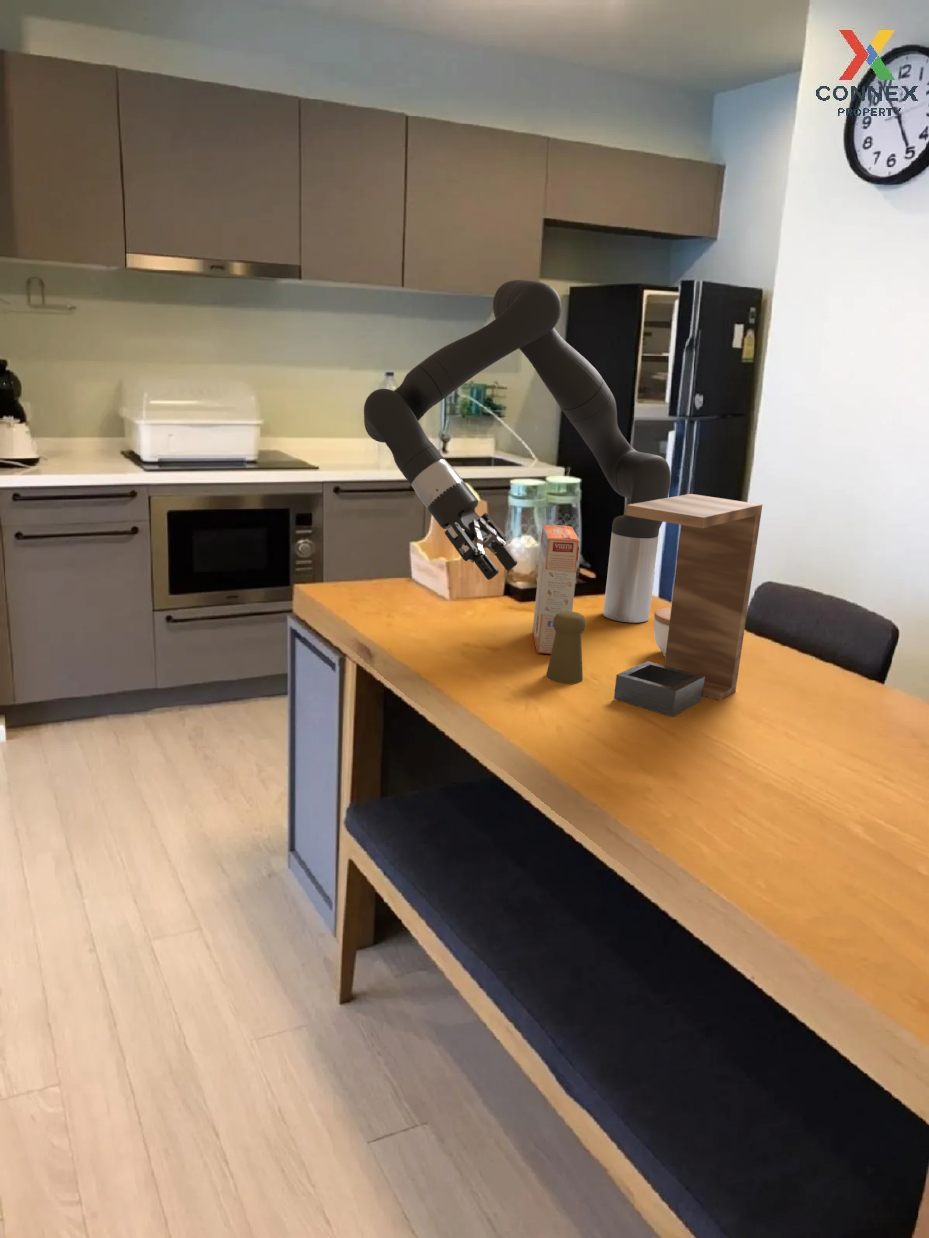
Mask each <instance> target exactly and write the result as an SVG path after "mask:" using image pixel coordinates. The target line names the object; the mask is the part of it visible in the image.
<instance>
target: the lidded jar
mask: <svg viewBox="0 0 929 1238" xmlns="http://www.w3.org/2000/svg"><path fill="white" fill-rule="evenodd" d="M671 607H672V606H671ZM671 607H662V608H657V609H656V610H655V611H654V614H653V615H654V620H653V637H654V641H655V644H656V646H657V647H658V649H659V650H660V652H661V653H662V656H663V657H665V656H666V648H667V640H668V632H669V623H670V615H671Z"/></svg>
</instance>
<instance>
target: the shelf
mask: <svg viewBox="0 0 929 1238" xmlns="http://www.w3.org/2000/svg"><path fill="white" fill-rule="evenodd" d="M625 509H626V510H625V514H626V515H627V516H633V517H639V518H645V519H651V520H657V521H662V522H663V523H664V522H665V523H669V524H675V525H680V532H679V533H680V535H679V543H678V551H677V558H676V559H677V560H676V567H675V576H674V585H673V593H672V600H671V615H670V623H669V632H668V640H667V648H666V656H665V658H664V664H663V665H664V666H667V667H671V668H675V669H679V670H682V671H686V672H690V673H694V674H697V675H701V676H705V679H704V686H703V694H702V696H705V697H708V698H712V699H715V700H719V701H721V700H723V699H725V698H727V697H728V696H730V695H732V694H733V693H735V692H736V691H737V683H738V677H739V670H740V664H741V663H740V662H741V658H742V657H741V656H742V650H743V642H744V635H745V629H746V621H747V615H748V608H749V601H750V593H751V588H752V586H751V585H752V580H753V575H754V574H753V573H754V572H753V571H754V565H755V559H756V553H757V544H758V537H759V532H760V524H761V518H762V510H763V504H760V503H753V502H748V501H741V500H734V499H729V498H723V497H721V498H720V497H715V496H714V497H713V496H707V495H701V494H695V493H694V494H693V493H686V494H682V495H677V496H670V497H669V496H668V498H664V499H658V500H652V501H646V502H641V503H635V504H630V503H629V504H626V508H625Z"/></svg>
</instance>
